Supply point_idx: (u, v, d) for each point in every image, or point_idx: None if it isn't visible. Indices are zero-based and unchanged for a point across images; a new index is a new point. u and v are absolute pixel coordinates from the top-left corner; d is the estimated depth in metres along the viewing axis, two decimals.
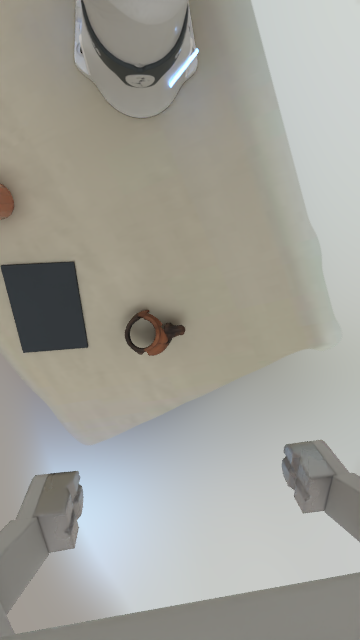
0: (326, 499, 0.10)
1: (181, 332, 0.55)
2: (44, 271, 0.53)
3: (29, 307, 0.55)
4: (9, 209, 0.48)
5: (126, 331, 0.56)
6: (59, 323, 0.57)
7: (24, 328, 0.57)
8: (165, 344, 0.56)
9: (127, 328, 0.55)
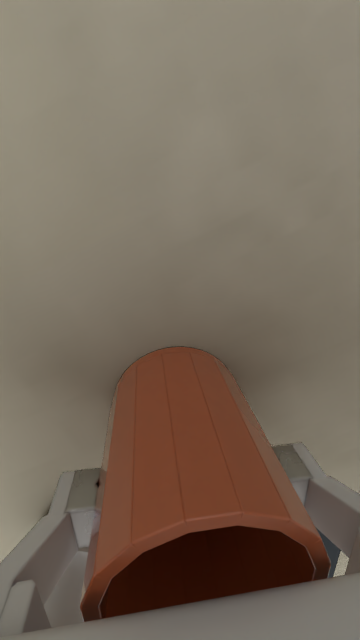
0: (303, 502, 0.10)
1: None
2: None
3: None
4: None
5: None
6: None
7: None
8: None
9: None
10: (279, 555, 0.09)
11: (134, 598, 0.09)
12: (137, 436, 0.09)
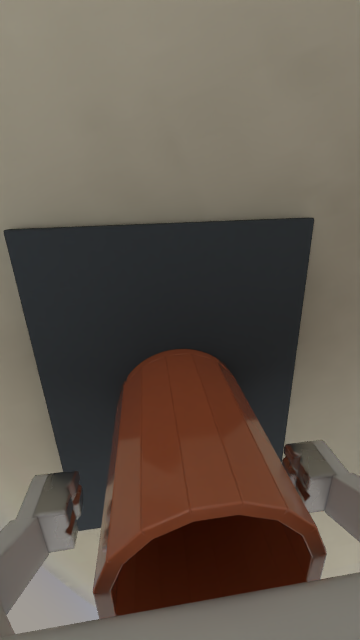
0: (326, 499, 0.10)
1: None
2: (191, 258, 0.12)
3: (114, 396, 0.14)
4: None
5: None
6: None
7: (88, 465, 0.16)
8: None
9: None
10: (278, 546, 0.09)
11: (142, 586, 0.09)
12: (144, 434, 0.09)
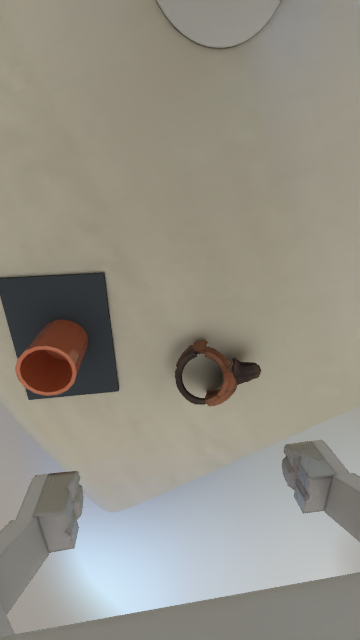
0: (326, 499, 0.10)
1: (257, 375, 0.38)
2: (60, 287, 0.36)
3: None
4: None
5: (178, 373, 0.38)
6: None
7: None
8: (233, 391, 0.39)
9: (179, 369, 0.38)
10: None
11: (33, 381, 0.33)
12: (34, 339, 0.33)
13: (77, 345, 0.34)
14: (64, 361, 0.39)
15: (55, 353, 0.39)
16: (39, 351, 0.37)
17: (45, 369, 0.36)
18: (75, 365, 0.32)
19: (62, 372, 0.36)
